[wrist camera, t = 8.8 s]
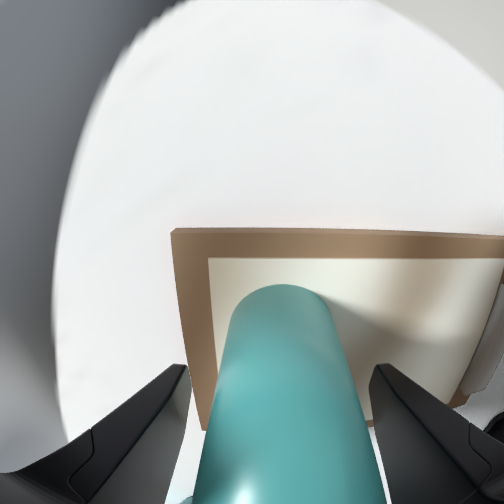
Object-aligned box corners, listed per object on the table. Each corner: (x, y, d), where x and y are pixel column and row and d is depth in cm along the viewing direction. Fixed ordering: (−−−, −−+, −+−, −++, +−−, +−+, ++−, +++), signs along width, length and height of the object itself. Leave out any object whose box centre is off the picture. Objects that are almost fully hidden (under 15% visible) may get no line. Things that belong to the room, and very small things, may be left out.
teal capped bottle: (341, 281, 9) (458, 579, 1) (327, 369, 10) (366, 597, 2) (223, 280, 9) (128, 605, 1) (229, 369, 10) (189, 602, 2)
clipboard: (520, 237, 9) (539, 246, 7) (460, 398, 12) (469, 413, 11) (175, 228, 9) (161, 240, 8) (203, 421, 13) (199, 442, 11)
